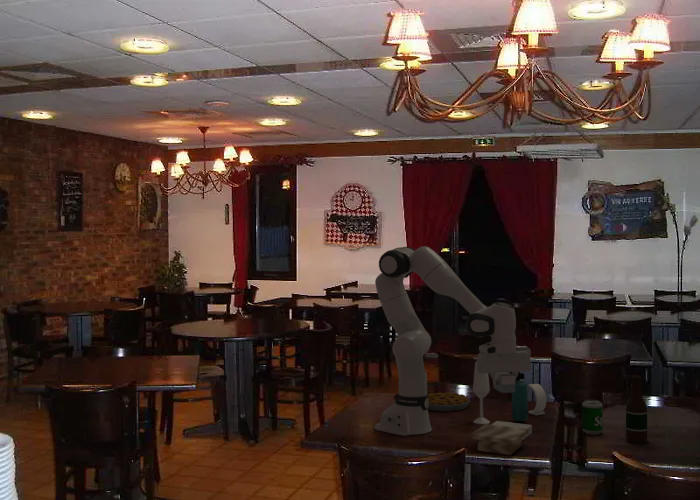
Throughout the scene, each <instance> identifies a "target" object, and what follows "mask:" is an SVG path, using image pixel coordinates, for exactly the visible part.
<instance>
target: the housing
mask: <svg viewBox="0 0 700 500" xmlns="http://www.w3.org/2000/svg"><path fill="white" fill-rule="evenodd" d="M494 377H495V379H497V380H498V385H492V386H493V389H495V390H496V391H497V392H500V393H501V394H507V393H512V392H515V381H516V379H515V376H514V374H512V372H504V373H495V376H494Z"/></svg>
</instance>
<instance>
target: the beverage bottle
mask: <svg viewBox="0 0 700 500" xmlns="http://www.w3.org/2000/svg"><path fill="white" fill-rule="evenodd" d="M524 379H526V378H525V373H523V372H518V376H517V378H516V379H515V392H511V419H512V420H514V421H519V422H520V421H521V422H523V421H527V420H529V406H528V405H529V401H528V400H529V399H528V383H527V382H525V381H524Z"/></svg>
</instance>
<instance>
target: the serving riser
mask: <svg viewBox="0 0 700 500" xmlns="http://www.w3.org/2000/svg"><path fill="white" fill-rule="evenodd" d="M527 434H528V429H524V428H516V427H508V426H499V425H491V424H490V423H487V424H483V425H482V426H481V427H479V428H478V429H476V430H474V431H473V432H471V433H470V434H469V439H473V440H477V451H480V452H486V453H494V454H502V455H508V456H511V455H512V454H513V453H515V452H516V451H517V450H519V449H520V448H521V447H522V441H521V438H523V437H524V436H525V435H527Z"/></svg>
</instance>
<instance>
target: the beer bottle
mask: <svg viewBox="0 0 700 500" xmlns="http://www.w3.org/2000/svg"><path fill="white" fill-rule="evenodd" d="M630 378H631V393H630V397H629V398H628V400H627V402H626V404H625V438H626V441H627V442H629V443H633V444H645V443H647V442H648V406H647V404H646V402H645V400H644V398H643V395H642V394H643V393H642V381H641V380H642V376H641V375H638V374H633V375H631V377H630Z"/></svg>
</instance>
